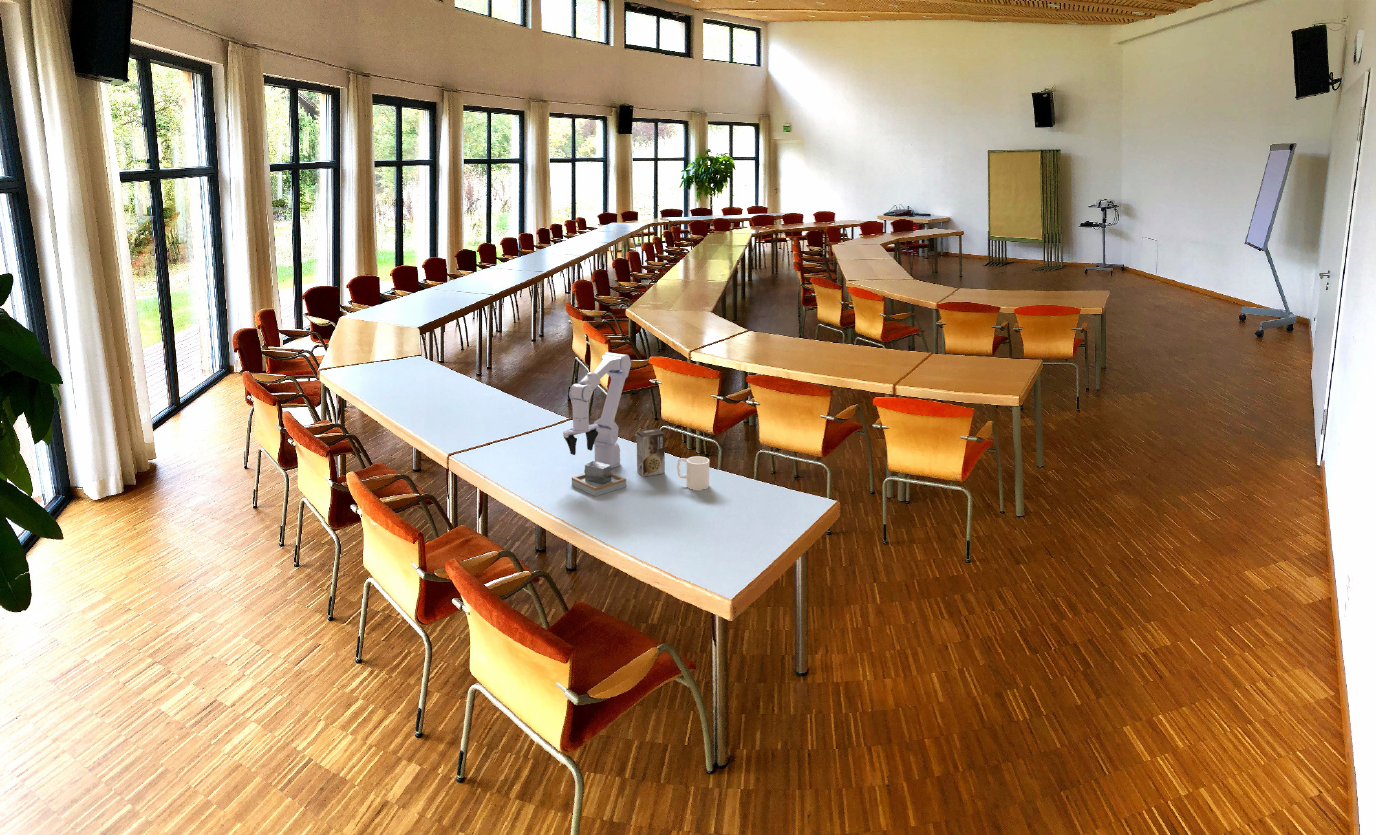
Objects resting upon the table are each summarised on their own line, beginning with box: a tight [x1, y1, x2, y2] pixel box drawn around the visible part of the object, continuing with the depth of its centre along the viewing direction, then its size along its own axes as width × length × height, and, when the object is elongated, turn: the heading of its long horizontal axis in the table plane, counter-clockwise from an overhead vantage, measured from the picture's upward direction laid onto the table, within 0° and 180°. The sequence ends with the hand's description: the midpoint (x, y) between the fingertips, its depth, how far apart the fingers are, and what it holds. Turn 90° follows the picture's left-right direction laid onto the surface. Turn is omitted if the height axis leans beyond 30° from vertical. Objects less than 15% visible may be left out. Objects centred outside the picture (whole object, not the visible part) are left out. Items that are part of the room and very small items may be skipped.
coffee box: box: [636, 428, 666, 478], centre depth 330 cm, size 9×6×16 cm
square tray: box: [571, 471, 627, 497], centre depth 319 cm, size 14×14×3 cm
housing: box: [583, 460, 612, 485], centre depth 318 cm, size 9×5×6 cm, turn 60°
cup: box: [676, 455, 710, 491], centre depth 319 cm, size 8×12×10 cm
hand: (581, 452), depth 323 cm, fingers open, 7 cm apart
